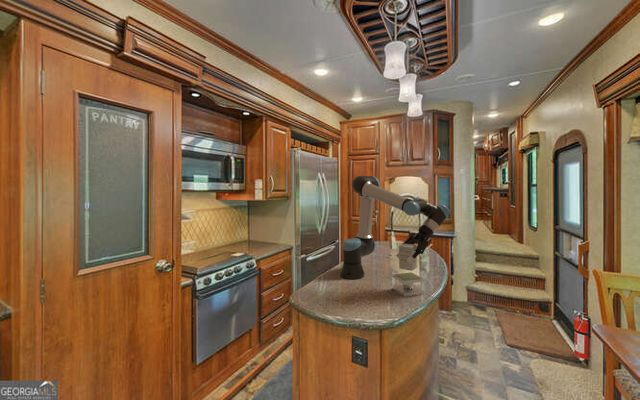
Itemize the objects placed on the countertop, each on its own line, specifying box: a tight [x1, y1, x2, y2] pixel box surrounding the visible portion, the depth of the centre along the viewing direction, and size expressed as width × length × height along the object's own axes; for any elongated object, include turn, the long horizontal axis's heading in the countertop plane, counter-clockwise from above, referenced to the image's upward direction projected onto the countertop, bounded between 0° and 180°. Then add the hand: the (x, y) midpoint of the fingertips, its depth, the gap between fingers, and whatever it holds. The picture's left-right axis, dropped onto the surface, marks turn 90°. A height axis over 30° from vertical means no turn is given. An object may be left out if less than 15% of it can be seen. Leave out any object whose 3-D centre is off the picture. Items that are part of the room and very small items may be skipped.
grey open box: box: [391, 271, 425, 298], centre depth 146 cm, size 12×12×8 cm
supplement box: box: [398, 243, 418, 272], centre depth 146 cm, size 7×7×13 cm
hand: (402, 259), depth 145 cm, fingers closed on supplement box, 10 cm apart
